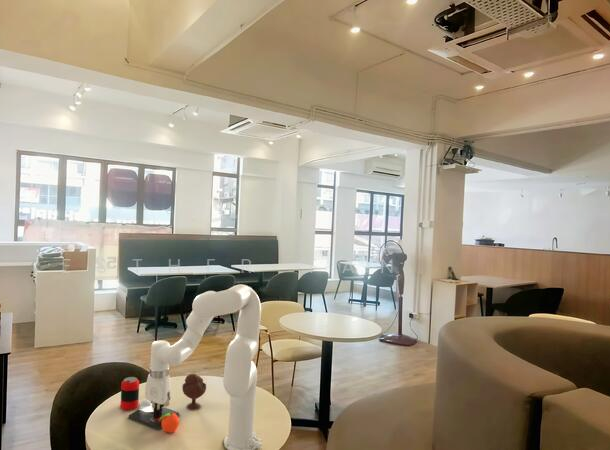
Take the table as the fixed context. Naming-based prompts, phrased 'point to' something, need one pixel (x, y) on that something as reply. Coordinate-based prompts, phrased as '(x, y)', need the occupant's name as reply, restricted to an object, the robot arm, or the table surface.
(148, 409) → the pan
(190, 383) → the ice cream bowl
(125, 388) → the soda can
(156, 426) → the scale
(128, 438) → the table surface
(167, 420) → the clementine
